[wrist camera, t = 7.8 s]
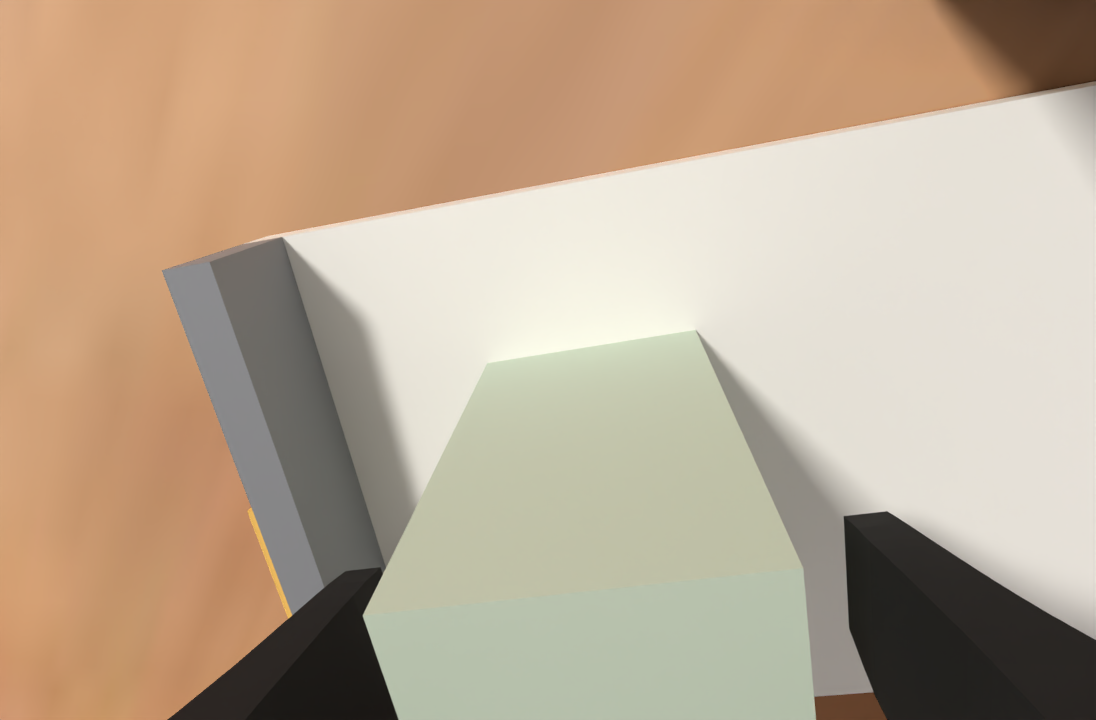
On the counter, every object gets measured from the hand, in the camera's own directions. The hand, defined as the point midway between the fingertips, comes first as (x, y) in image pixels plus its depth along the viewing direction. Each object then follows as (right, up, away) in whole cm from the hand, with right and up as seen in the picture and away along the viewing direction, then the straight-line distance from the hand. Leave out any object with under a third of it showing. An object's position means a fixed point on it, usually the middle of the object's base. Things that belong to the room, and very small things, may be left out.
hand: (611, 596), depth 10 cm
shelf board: (+2, +2, +4) cm, 5 cm away
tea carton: (0, +1, +3) cm, 3 cm away
